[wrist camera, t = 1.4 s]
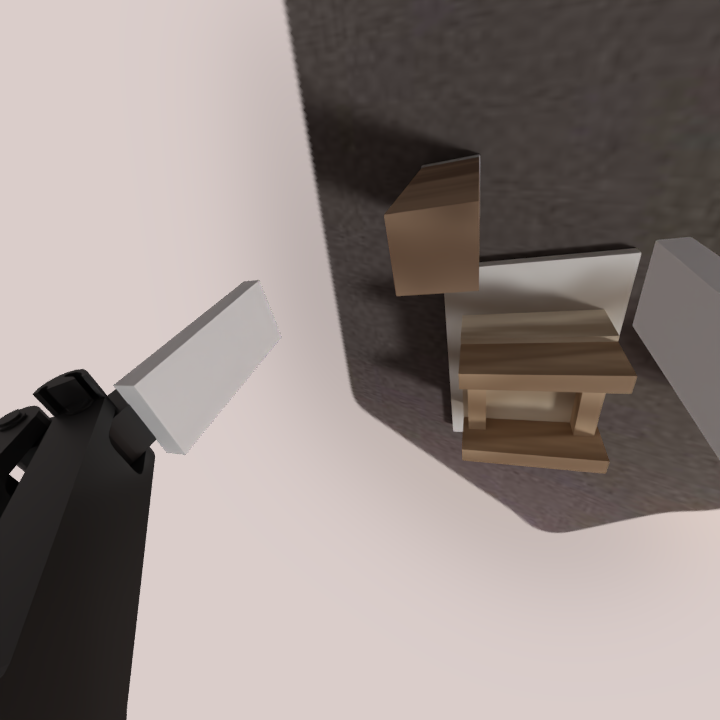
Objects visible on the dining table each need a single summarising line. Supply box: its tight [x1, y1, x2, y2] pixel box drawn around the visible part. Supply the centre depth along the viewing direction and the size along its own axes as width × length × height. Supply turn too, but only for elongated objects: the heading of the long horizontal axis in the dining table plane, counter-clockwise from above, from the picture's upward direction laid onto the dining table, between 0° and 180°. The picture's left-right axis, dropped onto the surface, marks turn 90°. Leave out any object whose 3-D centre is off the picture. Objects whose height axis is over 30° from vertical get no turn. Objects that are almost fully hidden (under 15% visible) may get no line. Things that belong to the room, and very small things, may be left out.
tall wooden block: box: [384, 154, 480, 296], centre depth 21 cm, size 4×4×14 cm
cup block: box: [444, 248, 641, 474], centre depth 30 cm, size 20×14×9 cm
